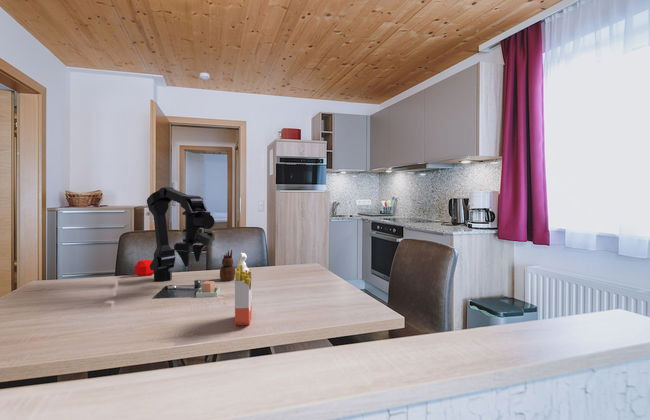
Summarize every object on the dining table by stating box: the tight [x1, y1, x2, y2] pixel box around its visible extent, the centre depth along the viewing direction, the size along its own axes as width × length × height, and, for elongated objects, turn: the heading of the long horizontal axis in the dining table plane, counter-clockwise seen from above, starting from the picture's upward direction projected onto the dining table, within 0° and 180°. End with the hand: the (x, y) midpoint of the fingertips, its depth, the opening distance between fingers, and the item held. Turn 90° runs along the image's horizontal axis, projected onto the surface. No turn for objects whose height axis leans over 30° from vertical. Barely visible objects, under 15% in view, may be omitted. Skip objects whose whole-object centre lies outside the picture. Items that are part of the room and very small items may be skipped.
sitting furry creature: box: [235, 252, 250, 273], centre depth 166 cm, size 10×9×12 cm
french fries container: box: [234, 263, 253, 326], centre depth 109 cm, size 5×11×18 cm, turn 7°
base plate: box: [151, 284, 202, 300], centre depth 139 cm, size 16×18×1 cm
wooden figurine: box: [219, 249, 236, 282], centre depth 156 cm, size 7×6×15 cm
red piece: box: [134, 258, 154, 278], centre depth 165 cm, size 8×8×8 cm
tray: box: [195, 286, 221, 298], centre depth 135 cm, size 8×8×2 cm
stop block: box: [201, 280, 215, 293], centre depth 135 cm, size 4×4×5 cm
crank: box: [167, 279, 202, 290], centre depth 141 cm, size 14×4×4 cm, turn 83°
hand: (192, 263), depth 142 cm, fingers open, 9 cm apart
